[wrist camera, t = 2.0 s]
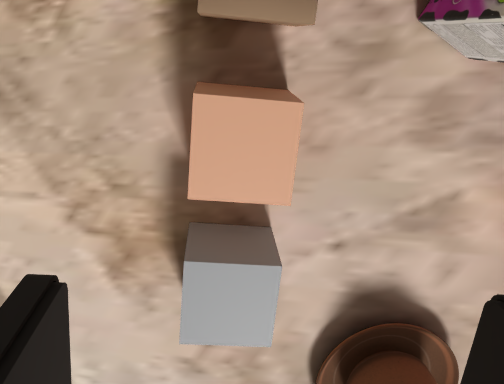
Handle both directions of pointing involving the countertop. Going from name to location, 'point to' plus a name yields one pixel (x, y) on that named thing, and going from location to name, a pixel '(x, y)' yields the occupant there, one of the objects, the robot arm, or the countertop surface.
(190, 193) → the terracotta block
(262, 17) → the walnut block
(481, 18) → the candy bar box
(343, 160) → the countertop surface
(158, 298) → the countertop surface
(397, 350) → the cup and saucer
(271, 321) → the slate grey block
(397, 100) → the countertop surface
